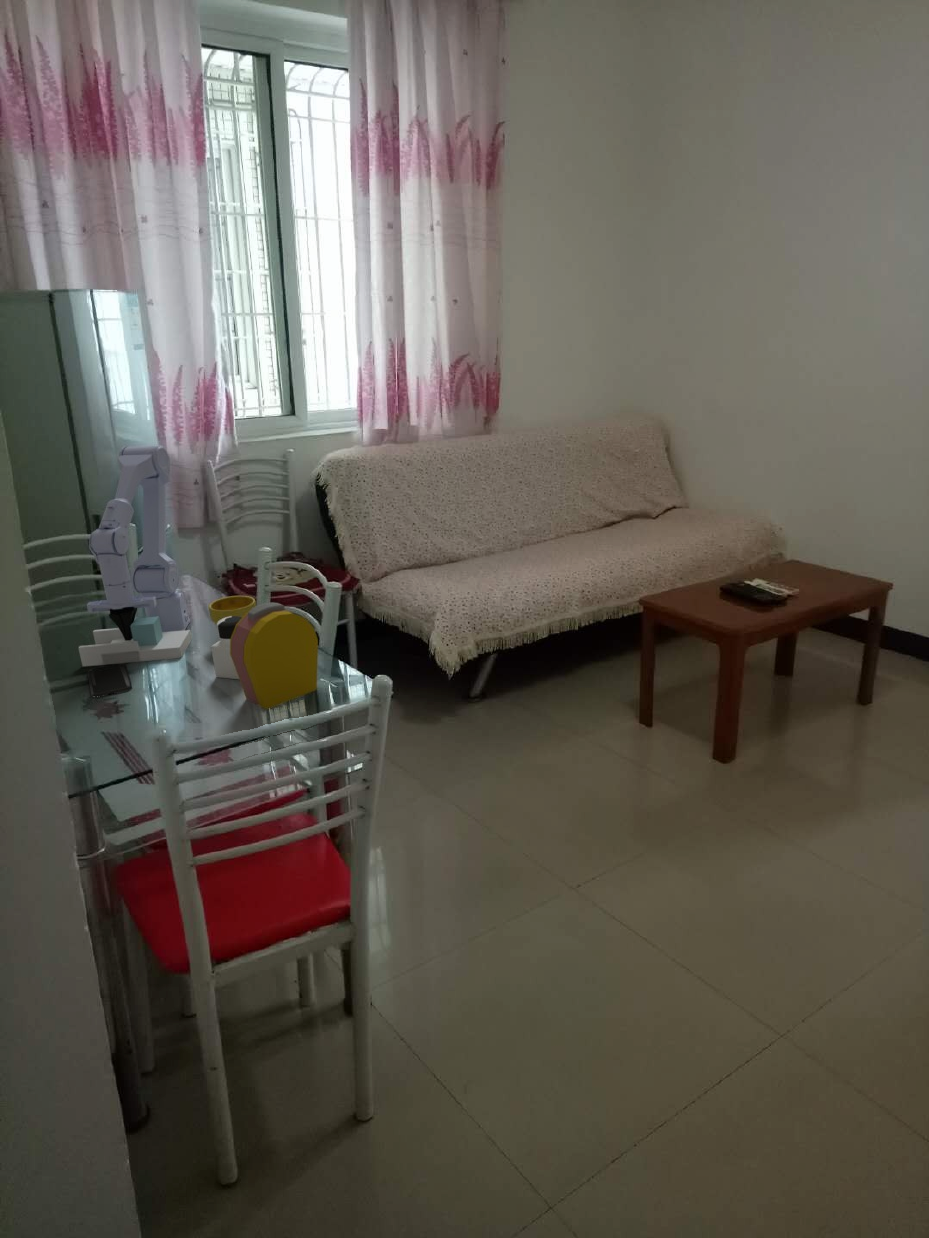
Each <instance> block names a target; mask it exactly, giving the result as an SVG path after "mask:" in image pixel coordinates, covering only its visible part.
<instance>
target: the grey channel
mask: <svg viewBox="0 0 929 1238" xmlns="http://www.w3.org/2000/svg"><path fill="white" fill-rule="evenodd" d="M92 634H93V638H94V642H95V644H89V645H88V644H87V645H79V646H78V653H79V656H80V661H81V665H82V668H83V667H93V666H105V665H115V664H121V663H124V664H126V663H138V662H147V661H148V662H149V661H159V660H171V659H180V658H183V656H184V654H186V653H185V652H186V651H187V649H188V647H189V645H190V644H191V642H192V640H193V639H192V633H191V629H187V630H186V629H185V630H184V631H172V632H162V635H163V637H162V639H161V640H160V642H159V643H158V645H149V646H139V644H138V641H133V638H132V640H129V641H125V639H124V637H123V635H122V633H121V631H120V629H119V628H118V627H113V628H105V629H94V630H93V631H92Z"/></svg>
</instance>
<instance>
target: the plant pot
mask: <svg viewBox="0 0 929 1238" xmlns="http://www.w3.org/2000/svg"><path fill="white" fill-rule="evenodd" d="M256 603H257V601H256V599H255V598H254V597H252V596H249V595H231V596H226V597H221V598H219V599H218V598H217V599H216V600H213V601H212V602H211V603H210V604H209V606H208V611H209V615H210V616H209V617H210V620H211V622H212V623H214V625H215V627H216V628H217V625H216V624H217V623H218V621H219V620H221V619H223V618H226V617H230V616H240V617H243V616H244V615H245V614H246V613H248V612H249V611H250V610H251V609H252V608H254V607H255V606H257V604H256Z"/></svg>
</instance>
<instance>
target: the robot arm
mask: <svg viewBox="0 0 929 1238" xmlns="http://www.w3.org/2000/svg"><path fill="white" fill-rule="evenodd" d="M170 458H171V457H170V455H169V454H168V452H167V450H166V448H165V447H164V446H163V445H162V444H156V445H143V446H142V445H141V446H126V445H124V446H122V447H121V448H120V451H119V453H118V458H117V463H118V466H119V467H118V468H119V470H120V475H119V479H118V484H117V486H116V492H115V495H114V499H111V500H109V501H108V502H107V503H106V506H105V509H104V512H103V514H102V518H101V521H100V523H99V526H98V528H96V529H95V530H94V531H92V532H91V533H90V535H89V540H88V541H89V545H88V548H89V551H90V552H91V554H92V555H93V556H94V559H95V563H97V564H98V565H99V566H98V567H99V569H100V574H101V579H102V584H103V588H104V593H105V597H106V599H101V600H95V601H88V603H87V604H86V608H87V613H88V614H90V613H91V614H92V613H94V612H103V611H109V614H108V616H109V619H110V620H112V622H113V623H114V624H115V625H116V626H117V628H119V629H120V631H121V633H122V635H123V637H124V639H125V641H129V640H132V638H133V636H132V632H131V627H130V626H131V624H132V623H133V622H134V621H135V620H136V615H137V611H138V608H141V609H142V608H144V612H145V617H158V616H159V620H160V625H161V630H162V632H172V631H184V630H186V629H187V627H188V626H189V624H190V622H191V619H190V617H189V616H190V615H189V609H188V604H187V600H186V596H185V593H184V592H177V590H178V589H179V585H180V576H179V572H178V563H177V562H176V561H175V560H174V559H172V558H171V557H170V556H168V555H167V554H166V553H167V552H166V544H167V542H166V541H167V539H166V538H167V537H166V536H167V535H166V533H167V532H166V531H167V521H166V520H167V516H166V515H167V483H169V482H170V477H171V459H170ZM139 487H141V488H142V494H143V495H142V509H143V510H142V554H141V555H140V556H138V558H137V559H135V560H134V562H133V565H132V572H131V574H130V569H129V564H128V560H127V555H126V553H127V552H128V550H129V547H130V537H129V536H130V531H129V528H130V524H131V522H132V519H133V517H134V513H135V509H134V507H133V506H132V503H133V500H134V498H135V495H136V493H137V492H138V489H139ZM135 593H136V594H138V596H135Z"/></svg>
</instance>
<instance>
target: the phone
mask: <svg viewBox="0 0 929 1238" xmlns="http://www.w3.org/2000/svg"><path fill="white" fill-rule="evenodd" d="M128 671H129V670H128V668H127V665H126V663H117V664H110V665H107V666H100V667H97V668H92V669H89V670H88V671H87V681H88V685H89V689H90V694H91V697H92V696H95V697H97V696H98V697H99V696H103V695H108V694H113V693H114V694H113V695H116V694H115V693H117V694H120V693H126V692H129V691H131V690H133V684H132V681H131V678H130V675H129V672H128ZM108 696H109V695H108ZM99 698H100V697H99Z"/></svg>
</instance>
